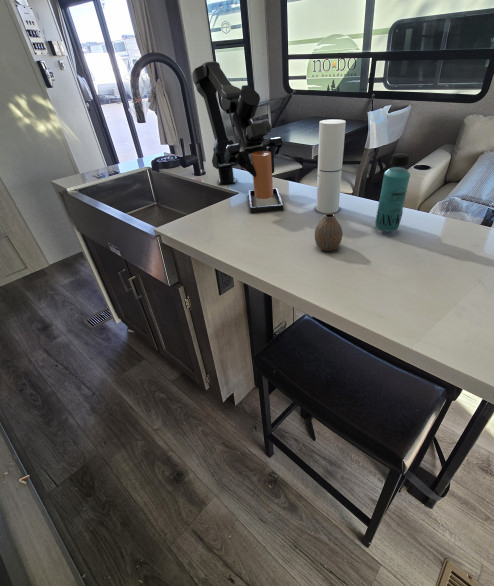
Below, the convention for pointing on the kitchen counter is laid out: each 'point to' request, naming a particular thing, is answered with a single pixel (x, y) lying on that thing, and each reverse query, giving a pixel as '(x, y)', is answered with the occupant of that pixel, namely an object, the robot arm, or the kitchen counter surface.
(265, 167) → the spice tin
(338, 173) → the cylindrical container
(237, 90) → the robot arm
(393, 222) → the beverage bottle
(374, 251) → the kitchen counter surface
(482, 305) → the kitchen counter surface
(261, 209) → the black rectangular frame
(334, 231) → the vase
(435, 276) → the kitchen counter surface
